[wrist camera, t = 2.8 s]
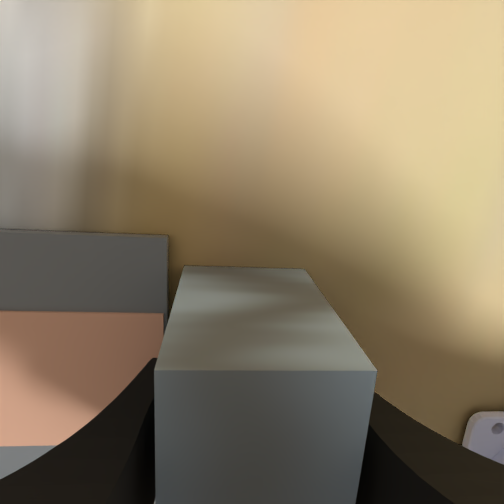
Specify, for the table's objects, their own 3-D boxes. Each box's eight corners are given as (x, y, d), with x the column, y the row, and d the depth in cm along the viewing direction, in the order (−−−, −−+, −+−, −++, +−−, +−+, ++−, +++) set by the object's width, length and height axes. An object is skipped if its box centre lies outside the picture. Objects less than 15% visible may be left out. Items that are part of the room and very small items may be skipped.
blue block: (305, 268, 13) (379, 371, 7) (287, 441, 14) (334, 637, 9) (183, 265, 12) (152, 370, 6) (181, 443, 14) (156, 651, 8)
